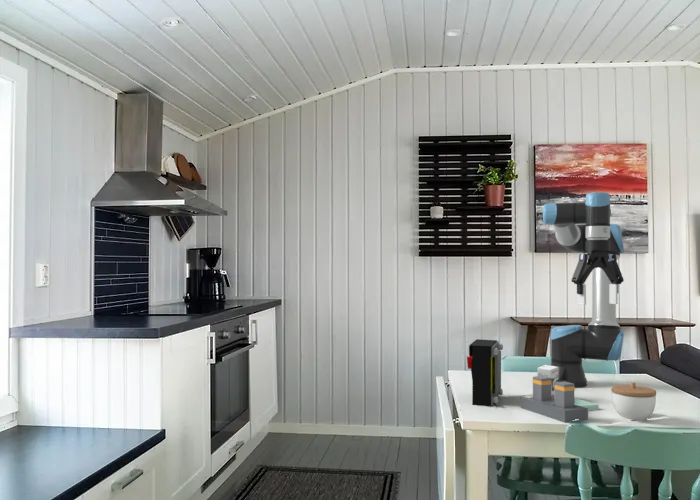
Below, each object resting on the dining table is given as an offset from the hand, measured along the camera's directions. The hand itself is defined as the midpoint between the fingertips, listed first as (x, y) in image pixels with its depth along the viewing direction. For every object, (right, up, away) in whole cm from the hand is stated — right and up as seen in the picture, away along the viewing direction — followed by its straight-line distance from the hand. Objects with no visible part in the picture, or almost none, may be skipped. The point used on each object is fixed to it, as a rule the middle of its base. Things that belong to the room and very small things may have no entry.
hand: (597, 304), depth 196 cm
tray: (-8, -35, +1) cm, 36 cm away
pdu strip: (-18, -34, -8) cm, 39 cm away
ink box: (-12, -35, +12) cm, 39 cm away
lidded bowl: (+6, -35, -11) cm, 37 cm away
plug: (-16, -33, -13) cm, 39 cm away
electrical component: (-34, -35, +12) cm, 50 cm away
